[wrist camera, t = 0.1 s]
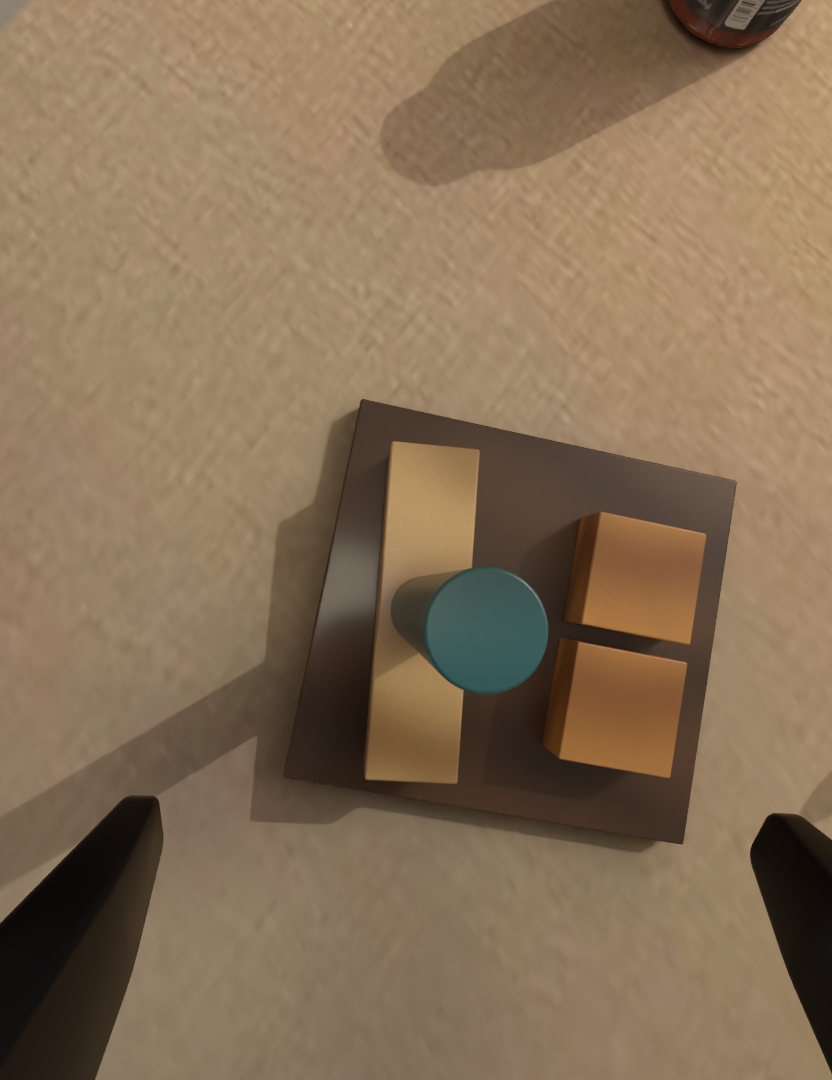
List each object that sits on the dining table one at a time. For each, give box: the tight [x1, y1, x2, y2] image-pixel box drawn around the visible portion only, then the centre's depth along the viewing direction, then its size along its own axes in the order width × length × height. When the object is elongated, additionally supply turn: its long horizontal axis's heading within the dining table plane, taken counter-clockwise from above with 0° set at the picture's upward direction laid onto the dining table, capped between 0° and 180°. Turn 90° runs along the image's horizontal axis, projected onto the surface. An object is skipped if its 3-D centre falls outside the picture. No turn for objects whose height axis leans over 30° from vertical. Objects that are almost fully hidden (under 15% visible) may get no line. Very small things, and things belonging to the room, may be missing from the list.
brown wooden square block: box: [542, 637, 687, 778], centre depth 23 cm, size 4×4×2 cm
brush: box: [363, 441, 548, 784], centre depth 17 cm, size 11×3×12 cm, turn 176°
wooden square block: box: [563, 512, 706, 645], centre depth 23 cm, size 4×4×2 cm
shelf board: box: [283, 399, 737, 844], centre depth 24 cm, size 14×15×1 cm
